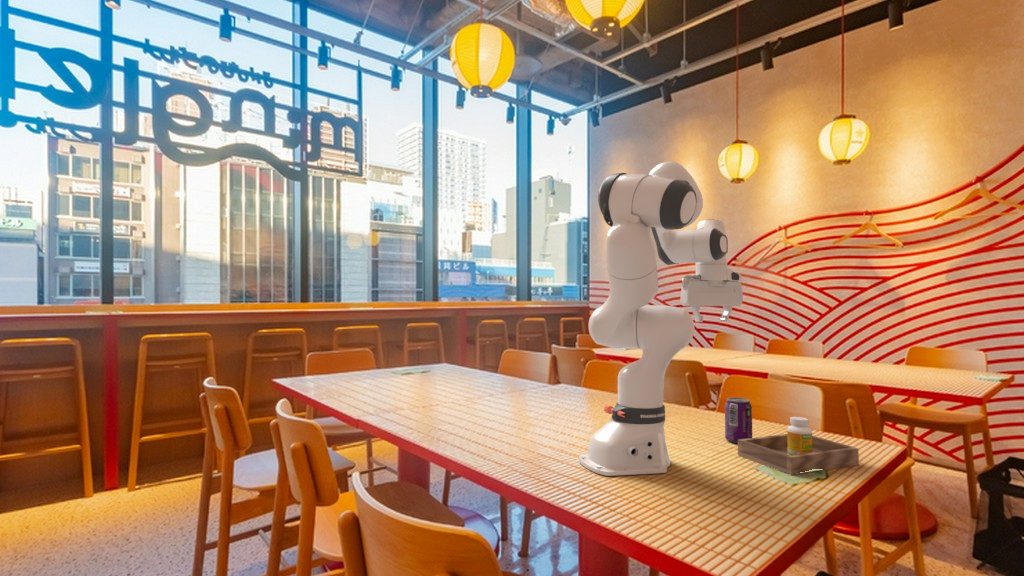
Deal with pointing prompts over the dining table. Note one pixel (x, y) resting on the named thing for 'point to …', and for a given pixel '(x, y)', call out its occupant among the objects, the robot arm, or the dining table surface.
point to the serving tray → (776, 455)
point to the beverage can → (738, 419)
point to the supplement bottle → (799, 436)
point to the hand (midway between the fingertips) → (711, 321)
